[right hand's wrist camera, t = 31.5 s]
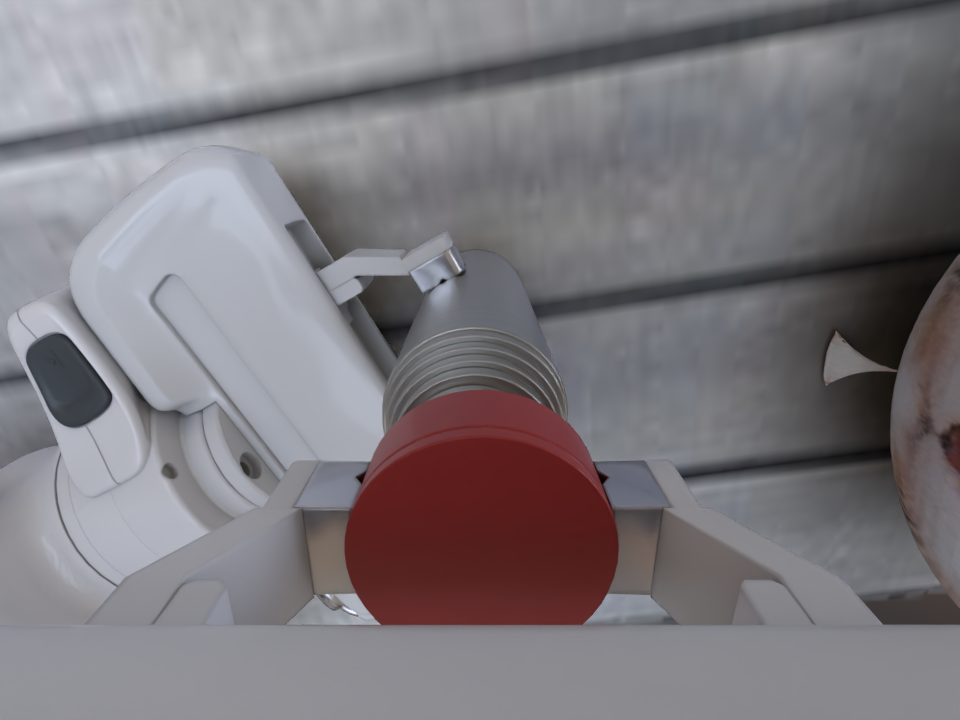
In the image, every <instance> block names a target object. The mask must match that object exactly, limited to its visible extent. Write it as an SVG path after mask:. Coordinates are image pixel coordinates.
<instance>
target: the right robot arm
mask: <svg viewBox="0 0 960 720" xmlns="http://www.w3.org/2000/svg"><path fill="white" fill-rule="evenodd" d="M370 462H371V461H330V460H323V461H321V460H297V461H294V462H292V464H291V465H290V467H289V468H288V470H287V471H286V473H285V474H284V476H283V477H282V479H281V481H280V482H279V484H278V485H277V487H276V488H275V490H274V491H273V493H272V494H271V496H270V498H269V499H268V501H267V502H266V504H265V505H264V507H263V508H254V509H252V510H250V511H248V512H246V513H245V514H243V515H241V516H239V517H237V518H235V519H233V520H231V521H230V522H228V523H226V524H224V525H222V526H220V527H218V528H217V529H215V530H213V531H211V532H209V533H207V534H205V535H204V536H202V537H200V538H198V539H196V540H194V541H192V542H191V543H189V544H187V545H185V546H183V547H181V548H179V549H177V550H176V551H174V552H172V553H170V554H168V555H166V556H164V557H163V558H161V559H159V560H157V561H155V562H153V563H151V564H150V565H148V566H146V567H144V568H142V569H140V570H138V571H137V572H135V573H133V574H131V575H129V576H127V577H125V578H124V580H123V581H122V582H121V583H120V584H119V585H118V586H117V588H116V589H115V590H114V591H113V592H112V593H111V594H110V596H109V597H108V598H107V599H106V600H105V601H104V602H103V604H102V605H101V606H100V607H99V608H98V609H97V610H96V612H95V613H94V614H93V615H92V616H91V617H90V618H89V620H88V621H87V622H86V623H85V624H84V625H0V720H960V625H883V624H882V623H881V622H880V621H879V620H878V619H877V618H876V616H875V615H874V614H873V613H872V612H871V611H870V610H869V608H868V607H867V606H866V605H865V604H864V603H863V602H862V601H861V599H860V598H859V597H858V596H857V595H856V594H855V593H854V591H853V590H852V589H851V588H850V587H849V586H848V585H847V584H846V582H845V581H844V580H843V579H842V578H840V577H839V576H837V575H835V574H833V573H831V572H829V571H827V570H825V569H824V568H822V567H820V566H818V565H816V564H814V563H812V562H810V561H809V560H807V559H805V558H803V557H801V556H799V555H797V554H795V553H794V552H792V551H790V550H788V549H786V548H784V547H782V546H780V545H779V544H777V543H775V542H773V541H771V540H769V539H767V538H765V537H764V536H762V535H760V534H758V533H756V532H754V531H752V530H750V529H749V528H747V527H745V526H743V525H741V524H739V523H737V522H736V521H734V520H732V519H730V518H728V517H726V516H724V515H722V514H721V513H719V512H717V511H715V510H713V509H711V508H702V507H701V505H700V504H699V502H698V501H697V499H696V498H695V497H694V495H693V494H692V492H691V491H690V489H689V488H688V486H687V485H686V483H685V482H684V480H683V479H682V477H681V476H680V474H679V473H678V471H677V470H676V468H675V467H674V465H673V464H672V462H670V461H668V460H649V461H607V462H593V464H594V466H595V469H596V472H597V474H598V477H599V479H600V482H601V485H602V487H603V490H604V492H605V495H606V498H607V500H608V503H609V506H610V508H611V511H612V513H613V516H614V519H615V523H616V527H617V531H618V540H619V555H618V564H617V568H616V572H615V576H614V579H613V582H612V584H611V587H610V589H609V591H608V593H607V594H640V595H651V598H652V599H653V600H655V601H656V602H657V603H658V604H659V605H660V606H661V607H662V608H663V609H664V610H665V611H666V612H667V613H668V614H669V615H670V616H671V617H672V618H673V619H674V620H676V621H677V622H678V623H679V624H680V625H285V624H286V623H287V622H289V621H290V620H291V619H292V618H293V617H294V616H295V615H296V614H297V613H298V612H299V611H300V610H301V609H302V608H303V607H304V606H305V605H306V604H307V603H308V602H309V601H310V600H311V599H313V598H314V596H313V595H324V594H356V592H355V590H354V588H353V586H352V584H351V581H350V578H349V575H348V571H347V568H346V561H345V554H344V540H345V533H346V527H347V522H348V520H349V517H350V514H351V511H352V508H353V506H354V503H355V501H356V498H357V495H358V493H359V490H360V488H361V485H362V482H363V480H364V477H365V475H366V472H367V469H368V467H369V464H370Z"/></svg>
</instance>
